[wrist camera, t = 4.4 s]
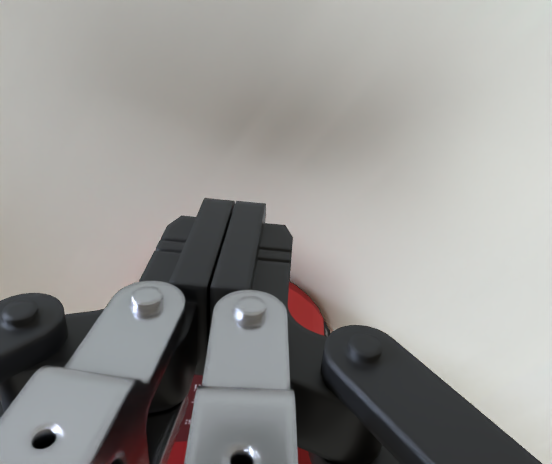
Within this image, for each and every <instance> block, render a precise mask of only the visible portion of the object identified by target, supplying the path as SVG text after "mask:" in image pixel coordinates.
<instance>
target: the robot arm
mask: <svg viewBox="0 0 552 464" xmlns="http://www.w3.org/2000/svg"><path fill="white" fill-rule="evenodd" d="M265 216H266V204H265V203H254V202H243V201H236V203H235V201H231V200H220V199H209V198H205V199H204V200H203V202H202V205H201V207H200V210H199V212H198V214H197V217H190V216H180V217H179V218H177V219H176V220H175V221H173V222H172V223H170V224H169V225H168V226H167V227H166V229H165V231H164V233H163V235H162V237H161V240H160V241H159V243H158V245H157V247H156V251H154V253H153V255H152V257H151V259H150V261H149V263H148V265H147V267H146V269H145V271H144V272H143V274H142V276H141V278H140V280H139V282H137V283H134V284H131V285H128V286H126V287H124V288H122V289H121V290H119V291H118V292H117V293H116V294H115V295H114V296H113V297H112V299H111V300H110V302H109V303H108V305H107V306H106V307H105V309H102V310H97V311H91V312H83V313H74V314H66V315H65V313H64V308H63V305H62V303H61V302H60V301H59V300H58V299H57V298H55V297H53V296H51V295H47V294H42V293H26V294H20V295H16V296H12V297H9V298H6V299H4V300H1V301H0V464H167V461H168V459H169V456H170V453H171V450H172V448H173V445H174V442H175V440H176V437H177V434H178V431H179V429H180V426H181V423H182V421H183V418H184V415H185V412H186V410H187V406H188V393H189V390H190V387H191V383H192V380H193V376H194V375H202V376H203V380H202V386H200V385H199V386H198V387H197V390H196V394H195V400H194V406H193V412H192V418H191V424H190V430H189V436H188V442H187V448H186V454H185V460H184V464H298V450H297V447H299V448H301V449H304V450H306V451H308V452H309V457H310V461H311V463H312V464H542V463H541V462H540V461H539V460H537V459H536V458H535V457H534V456H533V455H531V454H530V453H529V452H528V451H527V450H525V449H524V448H523V447H522V446H521V445H519V444H518V443H517V442H516V441H515V440H514V439H512V438H511V437H510V436H509V435H508V434H506V433H505V432H504V431H503V430H502V429H500V428H499V427H498V426H497V425H496V424H494V423H493V422H492V421H491V420H490V419H488V418H487V417H486V416H485V415H484V414H482V413H481V412H480V411H479V410H478V409H476V408H475V407H474V406H473V405H472V404H471V403H469V402H468V401H467V400H466V399H465V398H463V397H462V396H461V395H460V394H459V393H457V392H456V391H455V390H454V389H453V388H451V387H450V386H449V385H448V384H447V383H445V382H444V381H443V380H442V379H441V378H439V377H438V376H437V375H436V374H435V373H433V372H432V371H431V370H430V369H429V368H428V367H426V366H425V365H424V364H423V363H422V362H420V361H419V360H418V359H417V358H416V357H414V356H413V355H412V354H411V353H410V352H408V351H407V350H406V349H405V348H404V347H402V346H401V345H400V344H399V343H398V342H396V341H395V340H394V339H393V338H392V337H390V336H389V335H387V334H386V333H384V332H382V331H380V330H378V329H375V328H372V327H368V326H362V325H349V326H344V327H341V328H338V329H336V330H335V331H333V332H332V333H331V334H330V335H329V336H328V337H327V336H324V335H321V334H318V333H315V332H313V331H310V330H308V329H306V328H305V327H303V326H302V325H300V324H299V323H298V322H297V321H296V320H295V319H294V318H293V317H292V315H291V314H290V312H289V309H288V293H289V280H290V267H291V254H292V241H293V237H292V235H291V234H290V232H289V230H288V229H287V227H286V226H285V225H278V224H267V223H265Z"/></svg>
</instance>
